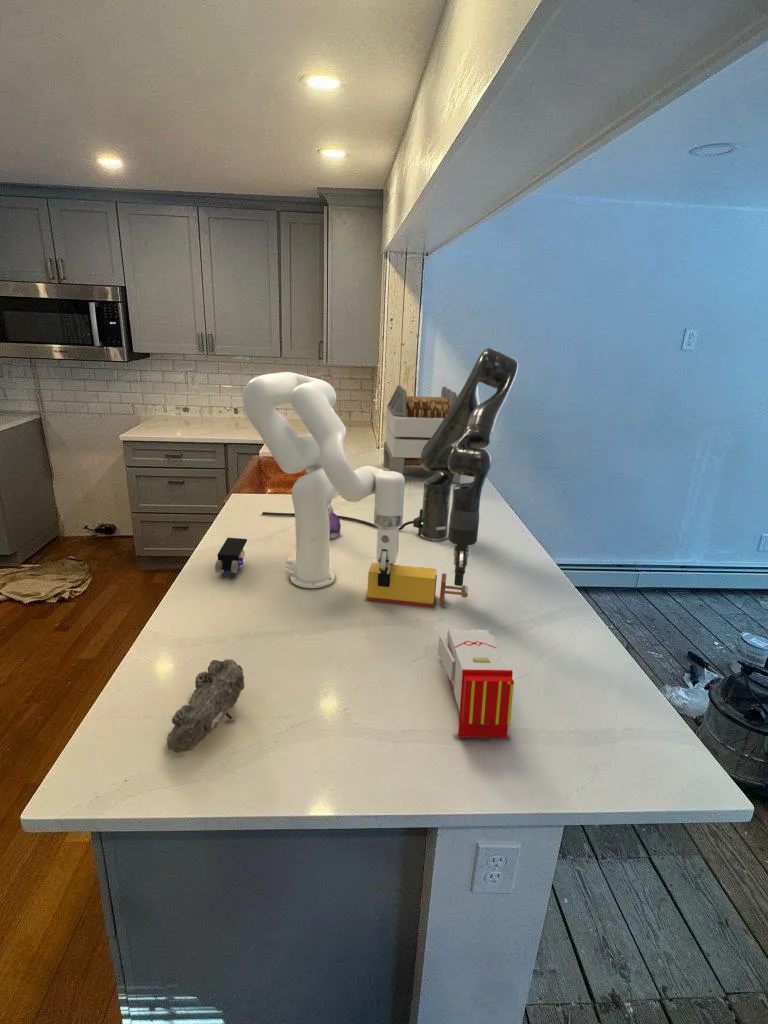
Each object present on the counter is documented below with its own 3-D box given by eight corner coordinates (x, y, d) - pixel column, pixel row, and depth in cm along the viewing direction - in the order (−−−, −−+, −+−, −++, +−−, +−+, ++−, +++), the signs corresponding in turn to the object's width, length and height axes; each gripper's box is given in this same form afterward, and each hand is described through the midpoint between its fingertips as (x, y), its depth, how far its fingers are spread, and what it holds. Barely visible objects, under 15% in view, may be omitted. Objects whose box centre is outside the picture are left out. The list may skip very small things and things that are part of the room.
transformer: (382, 463, 289) (386, 382, 275) (445, 464, 293) (451, 384, 279) (390, 482, 257) (394, 392, 243) (460, 483, 261) (468, 394, 247)
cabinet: (434, 596, 157) (436, 568, 155) (433, 607, 152) (435, 578, 149) (370, 589, 160) (371, 562, 157) (367, 600, 154) (368, 571, 151)
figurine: (320, 542, 189) (321, 500, 184) (310, 531, 198) (309, 490, 193) (346, 538, 193) (347, 496, 188) (335, 528, 202) (335, 488, 197)
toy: (488, 613, 130) (523, 677, 101) (484, 667, 133) (517, 744, 104) (435, 612, 130) (455, 676, 101) (432, 666, 133) (451, 743, 103)
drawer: (466, 597, 156) (469, 576, 153) (466, 606, 151) (469, 584, 149) (384, 589, 158) (385, 567, 156) (382, 597, 154) (383, 575, 151)
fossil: (192, 660, 117) (244, 628, 112) (224, 691, 120) (276, 661, 115) (142, 746, 98) (202, 712, 93) (182, 779, 101) (242, 748, 96)
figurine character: (238, 584, 162) (249, 557, 175) (236, 562, 158) (247, 536, 172) (215, 584, 161) (227, 556, 175) (212, 561, 158) (225, 535, 171)
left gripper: (398, 531, 140) (395, 596, 146) (405, 509, 156) (402, 568, 162) (368, 529, 141) (366, 593, 147) (378, 506, 157) (376, 565, 163)
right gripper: (479, 534, 139) (472, 597, 145) (477, 516, 152) (472, 575, 158) (448, 532, 140) (443, 594, 146) (449, 514, 153) (445, 572, 158)
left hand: (385, 579), depth 154 cm, fingers closed on cabinet, 6 cm apart
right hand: (458, 584), depth 152 cm, fingers closed
